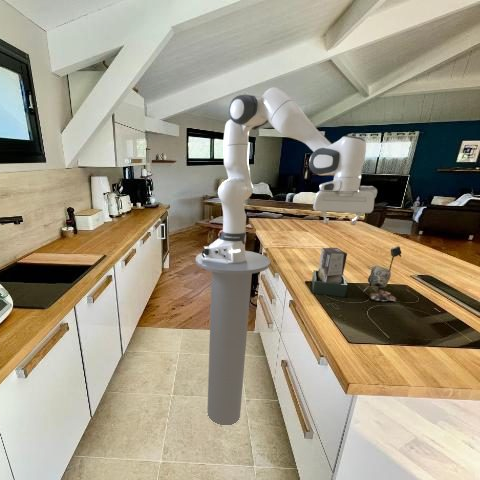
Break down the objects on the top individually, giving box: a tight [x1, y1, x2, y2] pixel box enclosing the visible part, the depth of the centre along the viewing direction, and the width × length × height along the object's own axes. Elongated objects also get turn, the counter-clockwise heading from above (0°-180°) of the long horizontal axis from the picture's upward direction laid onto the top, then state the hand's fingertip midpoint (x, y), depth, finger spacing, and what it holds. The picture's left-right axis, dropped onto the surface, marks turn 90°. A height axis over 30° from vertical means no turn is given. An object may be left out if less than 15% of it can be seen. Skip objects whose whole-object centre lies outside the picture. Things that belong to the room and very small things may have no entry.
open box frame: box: [311, 269, 348, 298], centre depth 126 cm, size 12×15×5 cm
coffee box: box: [317, 247, 348, 284], centre depth 124 cm, size 9×6×16 cm
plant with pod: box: [362, 245, 402, 302], centre depth 115 cm, size 8×11×20 cm
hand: (339, 224), depth 118 cm, fingers open, 8 cm apart
